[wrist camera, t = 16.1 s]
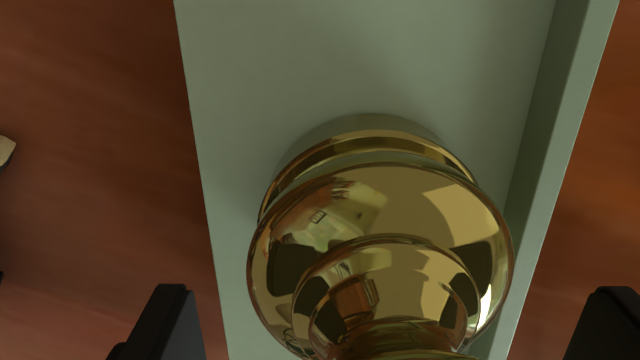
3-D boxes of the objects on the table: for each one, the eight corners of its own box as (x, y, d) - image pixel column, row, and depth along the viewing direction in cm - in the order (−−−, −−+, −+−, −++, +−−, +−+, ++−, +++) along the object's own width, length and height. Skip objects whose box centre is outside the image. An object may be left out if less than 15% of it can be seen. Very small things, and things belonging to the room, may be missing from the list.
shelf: (252, 298, 25) (225, 418, 18) (209, -109, 15) (118, -177, 8) (442, 299, 25) (487, 420, 18) (520, -109, 15) (677, -180, 8)
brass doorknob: (229, 226, 15) (94, 578, 6) (343, 63, 12) (394, 282, 3) (379, 308, 17) (440, 670, 8) (508, 182, 14) (820, 526, 5)
